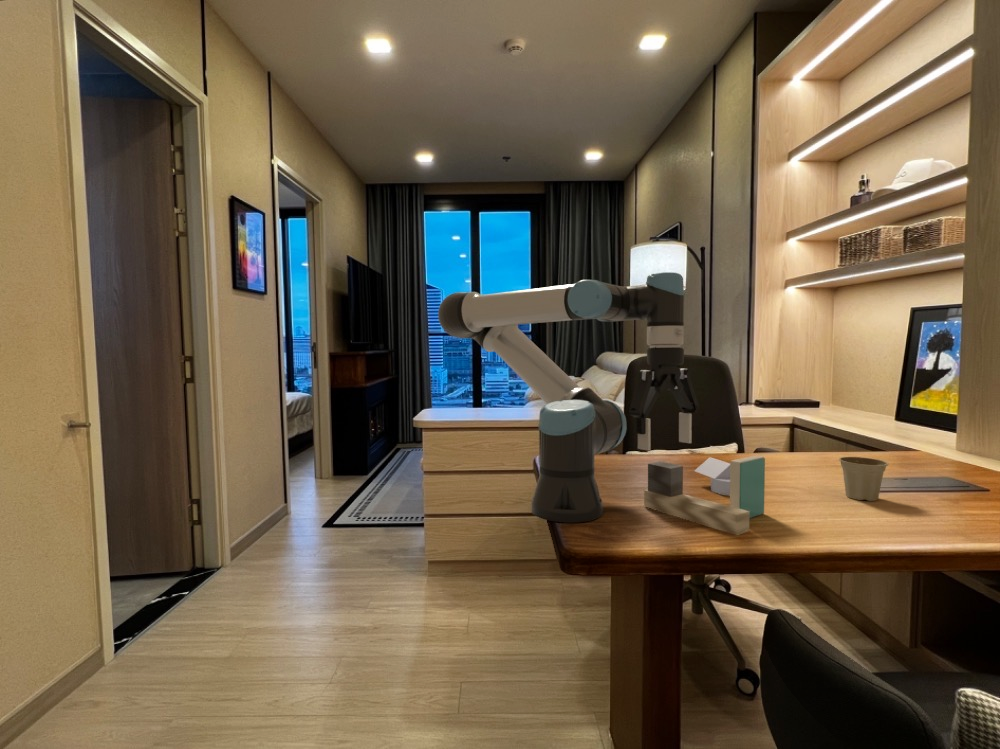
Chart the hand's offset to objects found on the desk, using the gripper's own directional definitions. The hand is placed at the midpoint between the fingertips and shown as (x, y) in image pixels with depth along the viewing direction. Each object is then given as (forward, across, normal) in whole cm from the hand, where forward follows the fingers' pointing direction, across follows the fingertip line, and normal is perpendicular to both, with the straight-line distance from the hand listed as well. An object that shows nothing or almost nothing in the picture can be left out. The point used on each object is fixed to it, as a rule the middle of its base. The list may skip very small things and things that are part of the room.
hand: (665, 446), depth 115 cm
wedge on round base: (+14, +26, +2) cm, 30 cm away
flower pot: (+14, +44, -21) cm, 51 cm away
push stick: (+14, 0, -7) cm, 16 cm away
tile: (+14, +10, -13) cm, 21 cm away
